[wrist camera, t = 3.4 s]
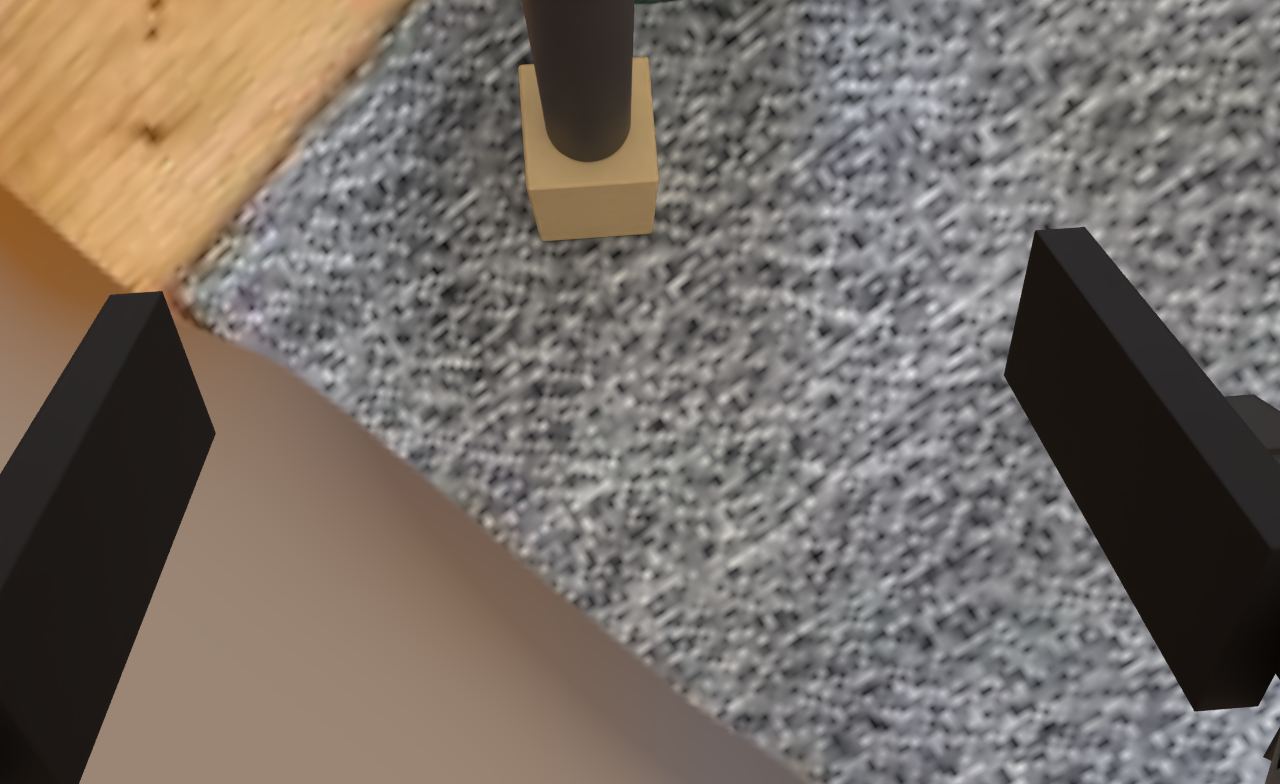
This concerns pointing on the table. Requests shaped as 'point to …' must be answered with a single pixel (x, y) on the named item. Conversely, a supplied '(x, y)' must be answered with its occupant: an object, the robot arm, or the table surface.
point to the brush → (587, 121)
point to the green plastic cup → (649, 1)
